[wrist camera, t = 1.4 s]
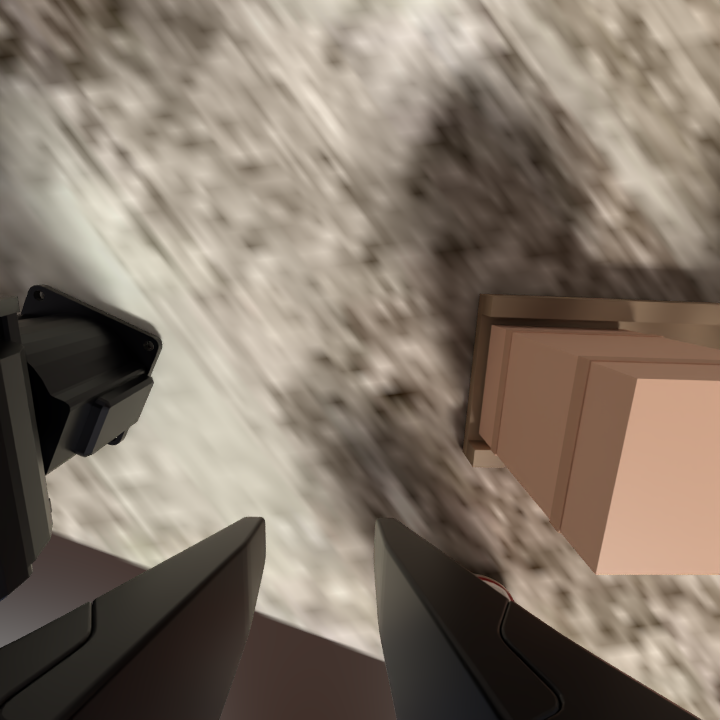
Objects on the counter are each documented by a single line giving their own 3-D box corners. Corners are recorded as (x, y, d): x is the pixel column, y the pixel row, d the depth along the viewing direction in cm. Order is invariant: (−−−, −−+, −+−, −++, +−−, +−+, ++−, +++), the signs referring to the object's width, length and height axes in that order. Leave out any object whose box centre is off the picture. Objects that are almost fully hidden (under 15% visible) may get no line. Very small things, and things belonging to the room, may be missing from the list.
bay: (462, 451, 22) (550, 584, 13) (479, 293, 20) (599, 314, 11) (753, 456, 23) (1034, 584, 14) (798, 306, 21) (1165, 335, 12)
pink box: (477, 434, 21) (593, 576, 11) (490, 323, 20) (636, 376, 10) (602, 436, 21) (819, 576, 12) (624, 328, 20) (891, 383, 10)
